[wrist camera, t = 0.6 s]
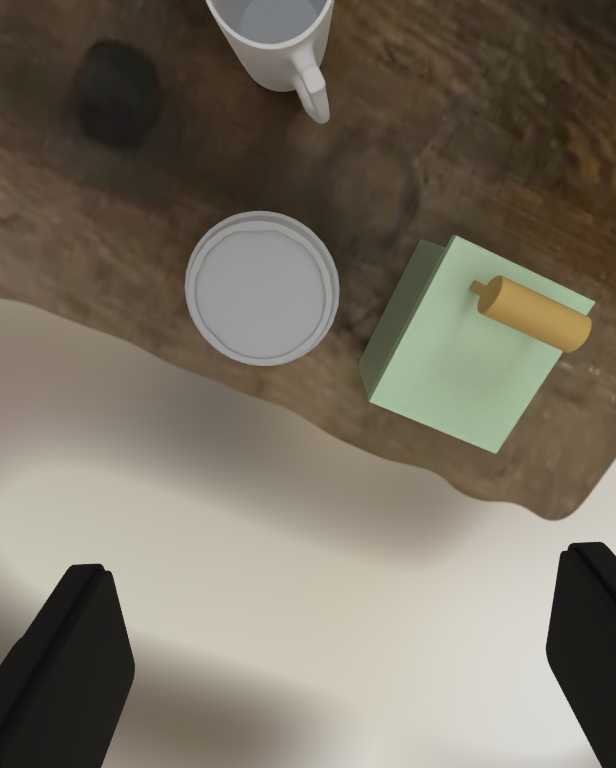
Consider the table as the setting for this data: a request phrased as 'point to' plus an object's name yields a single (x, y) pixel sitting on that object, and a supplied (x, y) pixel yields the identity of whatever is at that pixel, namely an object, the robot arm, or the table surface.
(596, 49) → the table surface
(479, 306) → the lid
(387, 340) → the chest
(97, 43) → the table surface
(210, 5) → the mug
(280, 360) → the disposable coffee cup
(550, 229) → the table surface
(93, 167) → the table surface
